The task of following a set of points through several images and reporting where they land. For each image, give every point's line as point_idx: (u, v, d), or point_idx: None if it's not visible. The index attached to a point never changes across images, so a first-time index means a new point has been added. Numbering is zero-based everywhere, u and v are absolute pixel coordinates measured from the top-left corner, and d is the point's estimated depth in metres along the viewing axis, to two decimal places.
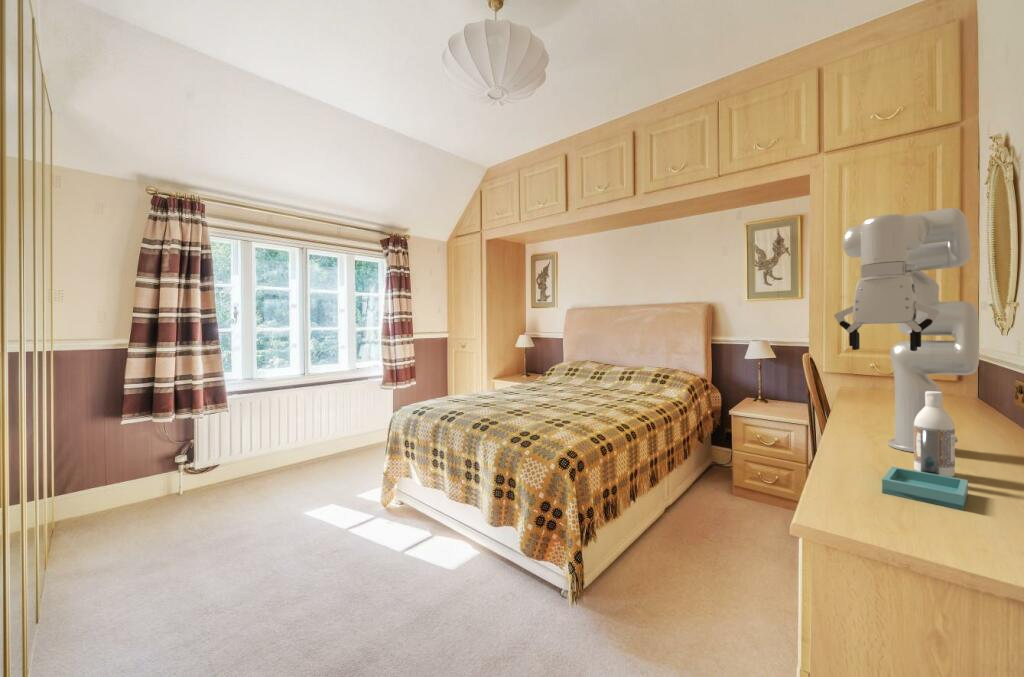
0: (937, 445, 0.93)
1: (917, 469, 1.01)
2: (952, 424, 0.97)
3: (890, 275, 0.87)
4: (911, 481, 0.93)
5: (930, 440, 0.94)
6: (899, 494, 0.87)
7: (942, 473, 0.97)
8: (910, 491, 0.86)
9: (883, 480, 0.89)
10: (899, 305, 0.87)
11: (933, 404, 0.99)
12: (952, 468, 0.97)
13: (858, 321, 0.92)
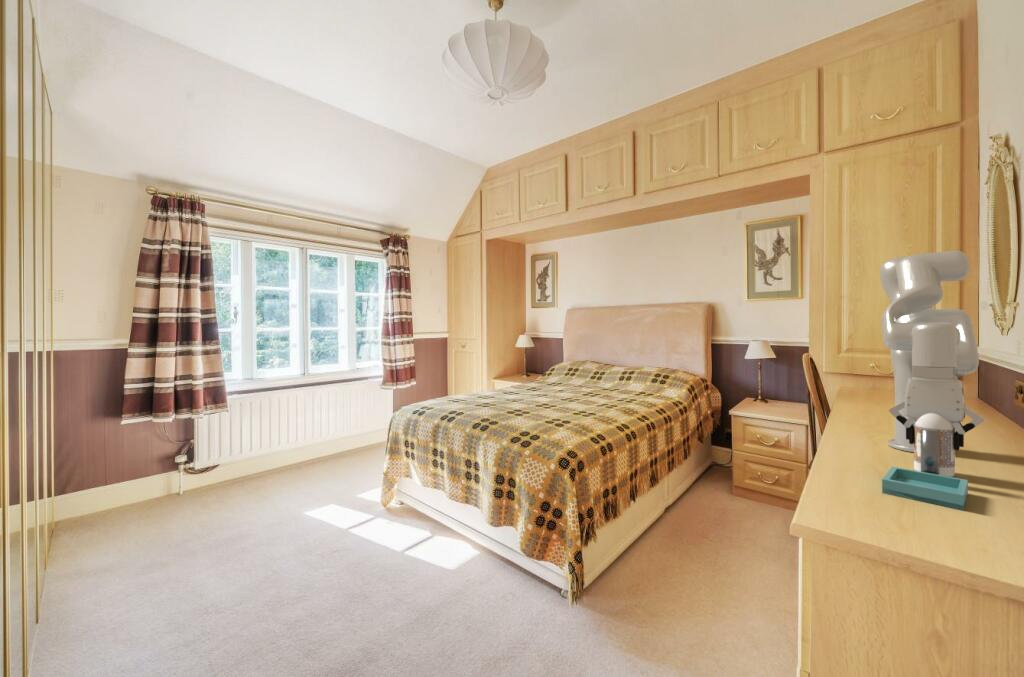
0: (937, 445, 0.93)
1: (917, 469, 1.01)
2: None
3: (942, 379, 0.96)
4: (911, 481, 0.93)
5: (930, 440, 0.94)
6: (899, 494, 0.87)
7: (942, 473, 0.97)
8: (910, 491, 0.86)
9: (883, 480, 0.89)
10: (950, 406, 0.96)
11: None
12: (952, 468, 0.97)
13: (910, 415, 1.01)
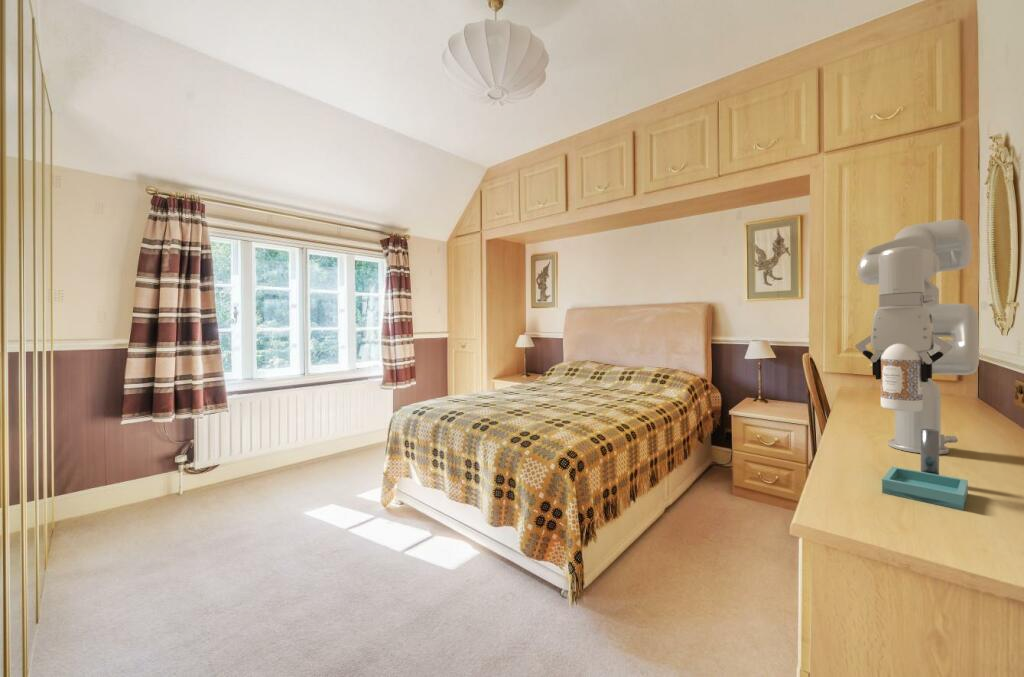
0: (937, 445, 0.93)
1: (883, 405, 0.94)
2: None
3: (908, 305, 0.90)
4: (911, 481, 0.93)
5: (930, 440, 0.94)
6: (899, 494, 0.87)
7: (908, 407, 0.90)
8: (910, 491, 0.86)
9: (883, 480, 0.89)
10: (917, 335, 0.89)
11: None
12: (919, 401, 0.90)
13: (876, 348, 0.95)
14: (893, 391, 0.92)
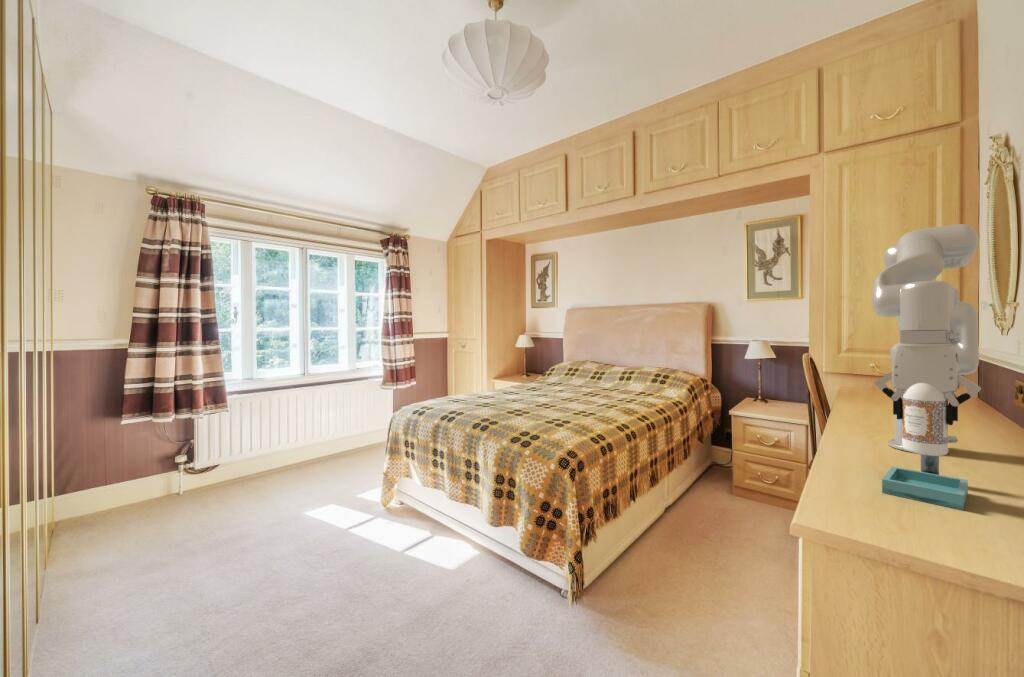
0: None
1: (905, 447, 0.89)
2: None
3: (933, 344, 0.84)
4: (911, 481, 0.93)
5: None
6: (899, 494, 0.87)
7: (933, 451, 0.85)
8: (910, 491, 0.86)
9: (883, 480, 0.89)
10: (942, 375, 0.84)
11: None
12: (945, 445, 0.85)
13: (897, 387, 0.90)
14: (916, 433, 0.87)
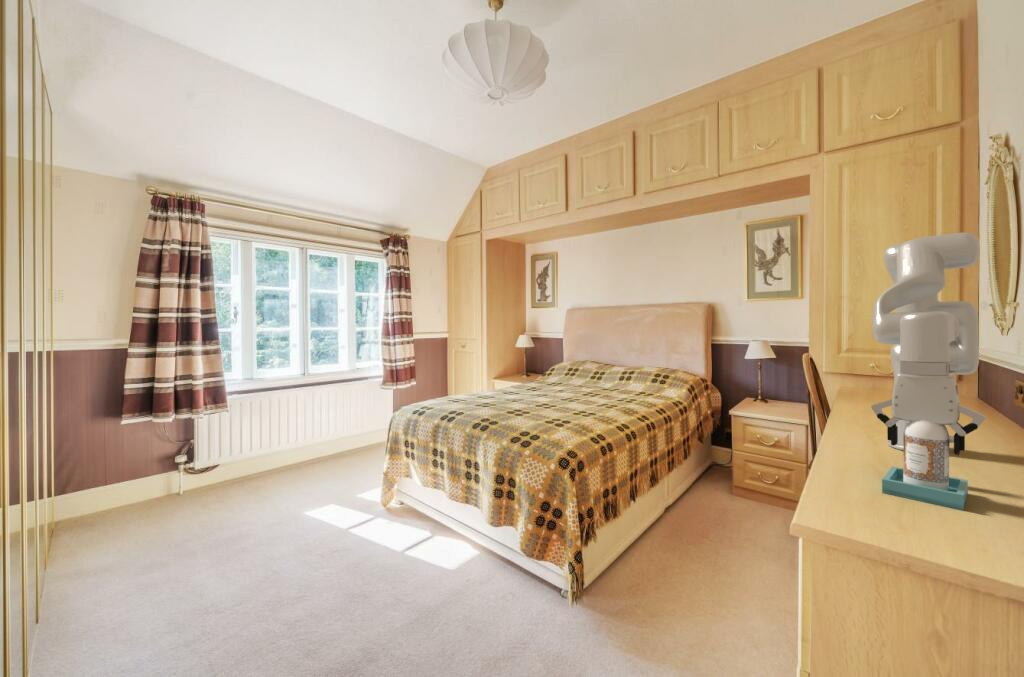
0: None
1: None
2: (946, 434, 0.85)
3: (933, 376, 0.85)
4: None
5: None
6: (899, 494, 0.87)
7: None
8: (910, 491, 0.86)
9: (883, 480, 0.89)
10: (942, 407, 0.84)
11: None
12: (946, 483, 0.85)
13: (897, 417, 0.90)
14: (917, 471, 0.87)
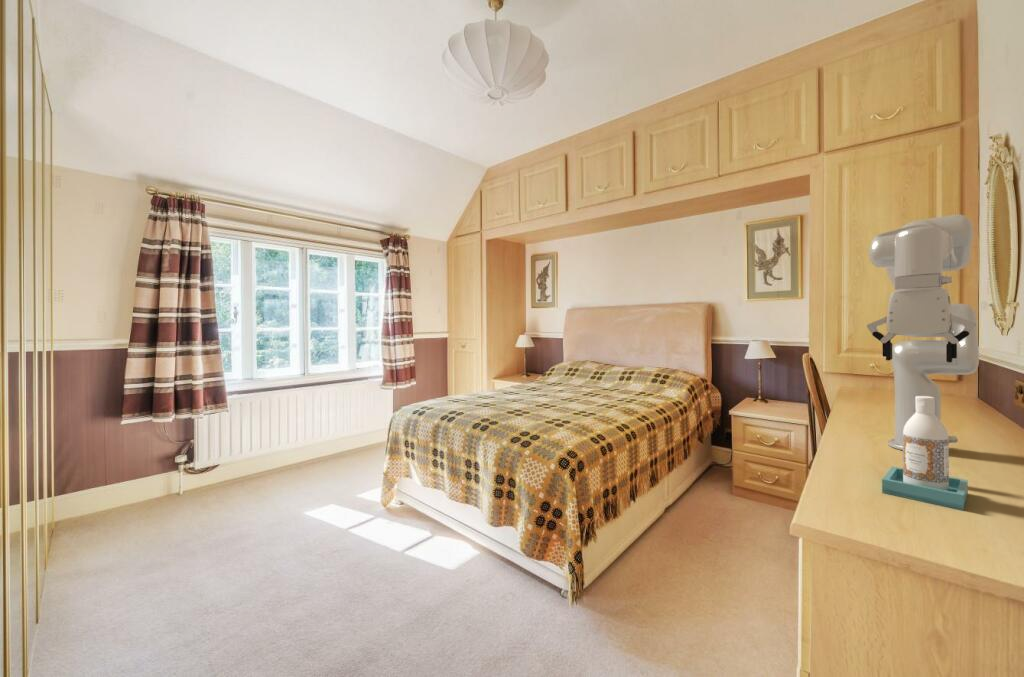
0: None
1: None
2: (945, 433, 0.85)
3: (926, 287, 0.87)
4: None
5: None
6: (899, 494, 0.87)
7: None
8: (910, 491, 0.86)
9: (883, 480, 0.89)
10: (935, 317, 0.87)
11: (924, 411, 0.87)
12: (945, 483, 0.85)
13: (892, 332, 0.93)
14: (917, 471, 0.87)
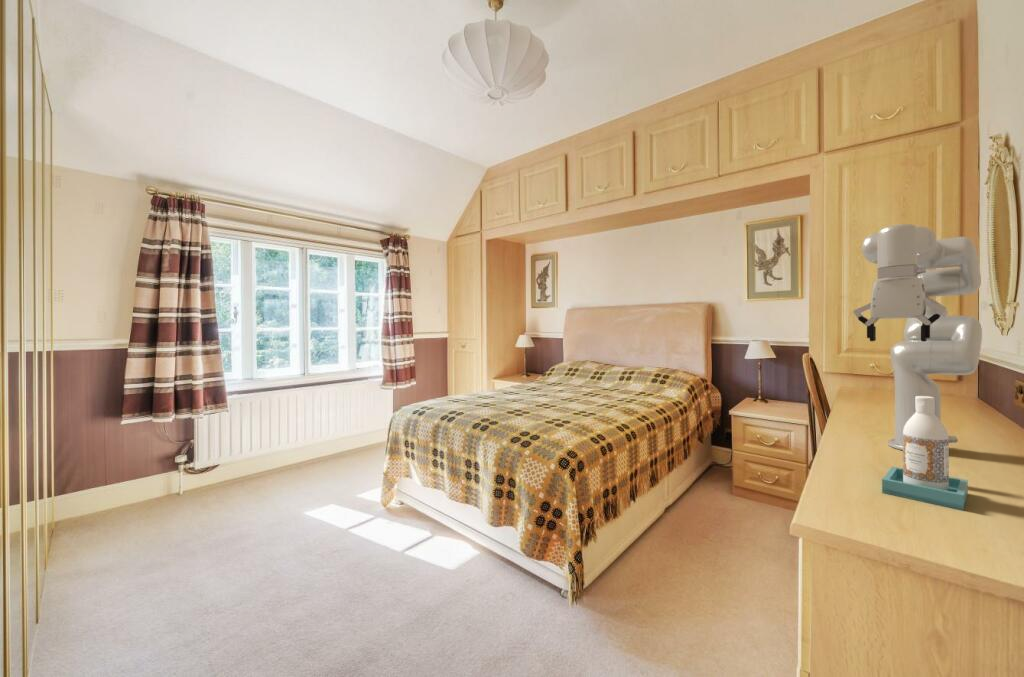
0: None
1: None
2: (945, 433, 0.85)
3: (904, 276, 1.01)
4: None
5: None
6: (899, 494, 0.87)
7: None
8: (910, 491, 0.86)
9: (883, 480, 0.89)
10: (911, 302, 1.01)
11: (924, 410, 0.87)
12: (945, 483, 0.85)
13: (875, 316, 1.07)
14: (917, 471, 0.87)
